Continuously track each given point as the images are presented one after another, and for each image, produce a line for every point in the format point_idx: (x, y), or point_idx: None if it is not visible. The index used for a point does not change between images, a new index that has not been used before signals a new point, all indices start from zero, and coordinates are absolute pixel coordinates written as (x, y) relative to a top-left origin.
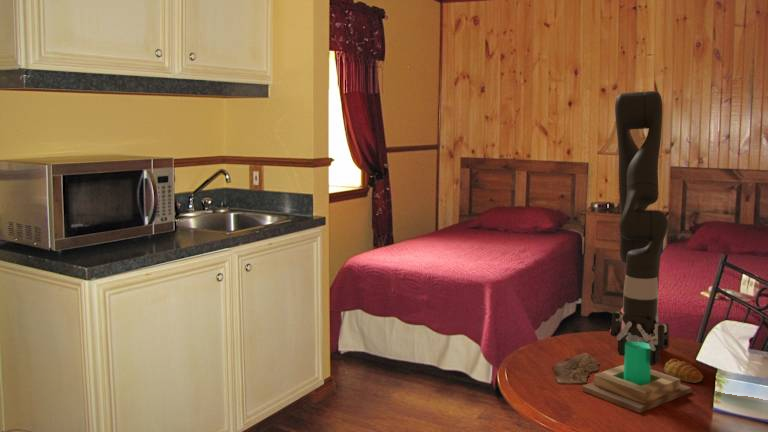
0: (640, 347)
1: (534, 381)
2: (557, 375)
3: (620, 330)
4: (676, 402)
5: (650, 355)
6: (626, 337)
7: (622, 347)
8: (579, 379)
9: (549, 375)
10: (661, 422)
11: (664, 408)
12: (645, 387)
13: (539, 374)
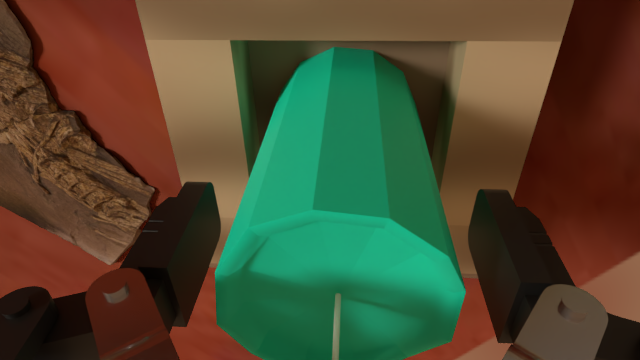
0: (364, 298)
1: (67, 294)
2: (43, 222)
3: (35, 339)
4: (569, 62)
5: (487, 300)
6: (151, 292)
7: (202, 272)
8: (120, 200)
9: (23, 227)
10: (576, 268)
11: (542, 165)
12: (461, 226)
13: (3, 244)
